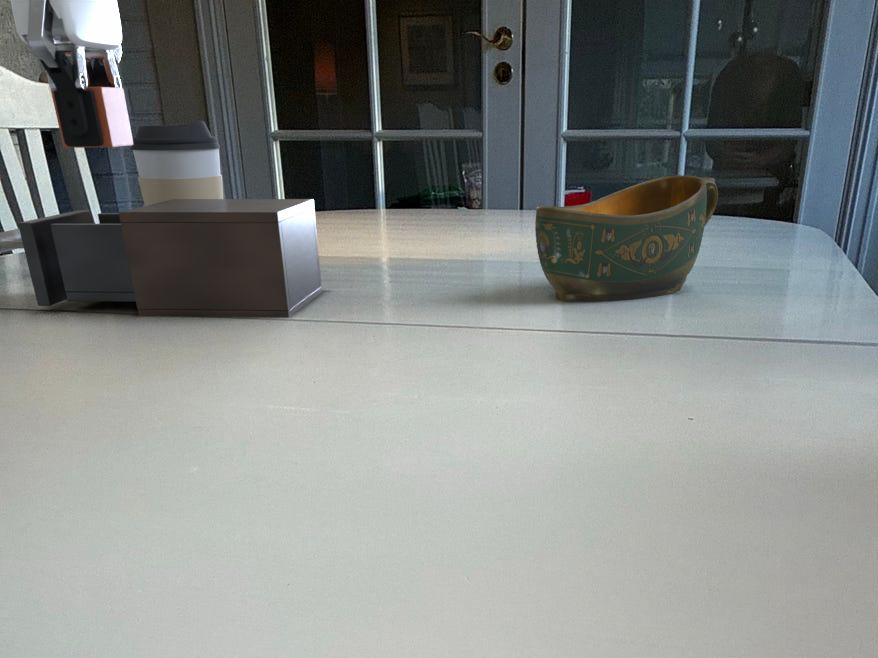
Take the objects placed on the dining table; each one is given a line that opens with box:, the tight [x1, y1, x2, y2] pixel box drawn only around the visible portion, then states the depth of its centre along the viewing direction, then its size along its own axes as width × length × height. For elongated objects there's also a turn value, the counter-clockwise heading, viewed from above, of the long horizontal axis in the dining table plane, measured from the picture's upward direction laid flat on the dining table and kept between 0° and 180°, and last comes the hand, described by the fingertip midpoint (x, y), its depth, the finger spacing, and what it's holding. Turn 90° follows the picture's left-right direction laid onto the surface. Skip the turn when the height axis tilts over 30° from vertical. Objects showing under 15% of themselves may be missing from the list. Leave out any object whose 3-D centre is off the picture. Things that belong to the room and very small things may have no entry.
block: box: [50, 87, 134, 149], centre depth 77 cm, size 4×4×4 cm
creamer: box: [534, 174, 719, 303], centre depth 86 cm, size 13×20×10 cm, turn 98°
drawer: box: [0, 209, 136, 307], centre depth 83 cm, size 18×11×7 cm, turn 85°
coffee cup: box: [130, 120, 224, 206], centre depth 96 cm, size 9×9×15 cm
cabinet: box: [118, 198, 323, 318], centre depth 82 cm, size 14×13×9 cm
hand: (98, 142), depth 78 cm, fingers closed on block, 4 cm apart
